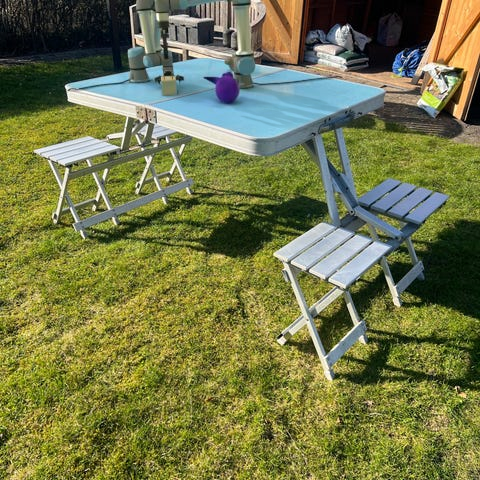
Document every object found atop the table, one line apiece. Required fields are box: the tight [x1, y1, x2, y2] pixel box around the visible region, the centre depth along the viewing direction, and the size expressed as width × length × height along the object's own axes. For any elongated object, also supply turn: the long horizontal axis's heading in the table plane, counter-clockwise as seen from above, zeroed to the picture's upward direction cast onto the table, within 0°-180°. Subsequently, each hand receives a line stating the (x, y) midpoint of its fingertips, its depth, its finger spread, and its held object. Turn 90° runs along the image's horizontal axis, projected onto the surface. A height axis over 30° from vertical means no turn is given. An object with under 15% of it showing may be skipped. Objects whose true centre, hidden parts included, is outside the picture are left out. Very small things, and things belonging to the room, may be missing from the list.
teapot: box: [223, 50, 237, 72], centre depth 368 cm, size 21×12×15 cm, turn 120°
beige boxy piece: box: [160, 67, 177, 83], centre depth 295 cm, size 14×10×8 cm
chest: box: [160, 80, 178, 97], centre depth 300 cm, size 13×10×9 cm
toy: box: [203, 71, 241, 104], centre depth 277 cm, size 16×18×27 cm
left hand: (169, 81), depth 304 cm, fingers open, 13 cm apart
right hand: (166, 57), depth 287 cm, fingers open, 13 cm apart
